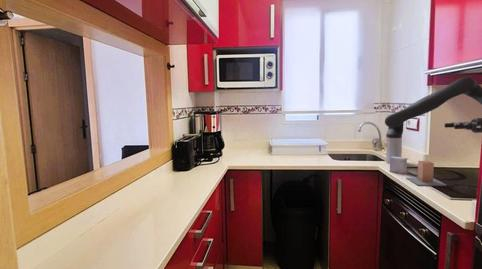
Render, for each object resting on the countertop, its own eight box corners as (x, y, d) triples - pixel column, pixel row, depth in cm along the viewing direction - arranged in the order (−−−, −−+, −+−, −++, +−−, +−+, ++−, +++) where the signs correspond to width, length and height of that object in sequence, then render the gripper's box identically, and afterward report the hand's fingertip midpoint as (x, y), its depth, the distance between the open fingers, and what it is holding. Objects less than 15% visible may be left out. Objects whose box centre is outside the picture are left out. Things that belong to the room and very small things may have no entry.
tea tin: (417, 179, 144) (418, 160, 143) (427, 179, 144) (428, 160, 142) (422, 182, 139) (423, 162, 138) (433, 182, 139) (433, 162, 138)
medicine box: (406, 172, 161) (407, 157, 160) (404, 173, 159) (404, 159, 158) (392, 170, 167) (392, 156, 166) (389, 171, 164) (389, 157, 164)
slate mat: (406, 178, 149) (406, 177, 149) (432, 178, 147) (432, 177, 147) (417, 185, 136) (417, 184, 136) (446, 185, 134) (446, 184, 134)
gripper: (475, 117, 147) (442, 118, 150) (495, 118, 133) (458, 119, 136) (474, 131, 148) (441, 131, 151) (494, 134, 134) (457, 134, 137)
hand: (449, 126), depth 143 cm, fingers open, 8 cm apart
